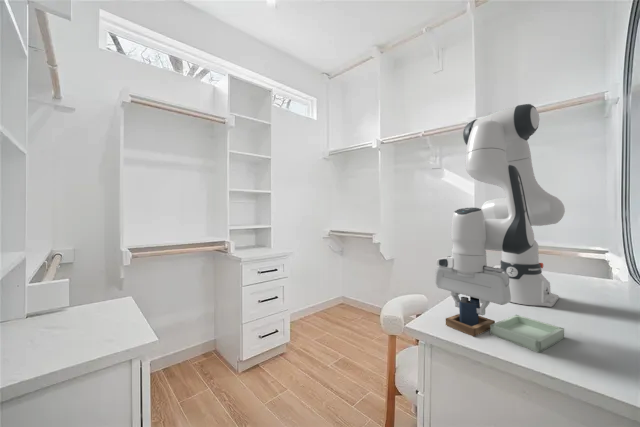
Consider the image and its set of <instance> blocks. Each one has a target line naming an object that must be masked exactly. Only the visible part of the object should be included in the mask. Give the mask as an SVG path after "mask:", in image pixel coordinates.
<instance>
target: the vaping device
mask: <svg viewBox="0 0 640 427" xmlns="http://www.w3.org/2000/svg"><path fill="white" fill-rule="evenodd" d="M478 307H481V303H480V299H477V298H474V297H470V296H469V297H468V296H461V297H460V302H459V308H458V309H459V314H460V322H461V323H464V324H466V325H469V326H474V325H477V324H479V316H480V315H479V314H477V308H478Z"/></svg>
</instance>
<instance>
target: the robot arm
mask: <svg viewBox="0 0 640 427" xmlns="http://www.w3.org/2000/svg"><path fill="white" fill-rule="evenodd" d="M539 124H540V114H539V111H538V110H537V108H536V106H534V105H532V104H531V103H524V104H518V105H517V106H513V107H508V108H505V109H500V110H498V111H495V112H493V113H491V114H490V113H489V114H488V115H486V116H483V117H480V118H478V119H474V120H471V121H470V122H468V123H467V124H466V125H465V127H464V128H463V133H462V138H463V141H464V143H465V145H466V149H465V150H466V151H465V162H464V163H465V171H466V172H467V174H468V175H469V177H471V178H473V179H474V180H476V181H478V182H480V183H485V184H489V185H494V186H497V187H499V188H502V190H503V192H504V195H505V197H497V198H493V199H489V200H486V201H484V202H483V204H482V205H481V207H464V208H458V209H456V210H454V211H453V213H452V217H451V226H450V238H451V242H452V248H451V255H449V256H445V257H441V258H437V259H436V260H435V261H436V266H437V267H436V269H435V274H434V276H435V278H434V279H435V280H434V283H435V286H436V287H437V288H438V289H441V290H445V291H448V292H451V293H450V294H451V297H452V298H453V300H454V306H455V308H458V309H459V302H460V300H461V297H460V296H459V295H463V296H465V297H469V298H470V297H474V298H477V299H480V307H478V308H477V314H479V316H482V317H484V316H485V315H486V309H487V308H488V306H489V305H490V303H492V304H497V305H498V306H499V305H500V306H505V305H507V304H509V303H513V304H520V305H524V306H538V307H539V306H540V307H550V308H552V307H554V305H555V304H556V303H557V301H558V300H559V298H560V297H559V295H558V294H556V293H552V291H551V283H550V281H549V280H548V279H547V278H546V277H545V276H544V275H543V274H542V273H543V271H542V269H543V268H544V263H543V262H539V261H540V259H539V258H540V256H539V244H538V242H537V240H535V233H534V230H533V227H532V226H534V227H536V226H537V227H538V226H539V227H541V226H548V225H556V224H558V223H559V222H560V221H561V220H562V219H563V218H564V216H565V212H566V211H565V209H566V208H565V205H564V203H563V202H562V200H560V199H559V198H558V197H557V196H555V195H552V194H550V193H549V192H548V191H546V190H545V189H544V188H543V187H541V185H540V184H539V183H538V181H537V179H536V176H535V172H534V169H533V168H534V167H533V163H532V153H531V149H530V145H529V141H528V140H529V139H530V137H531V136H532V135H534V134H535V133H536V132H537V129H538V128H539ZM487 251H491V252H492V251H495V252H501V260H500V263H499V267H494V266H488V265H487V264H488V262H487Z"/></svg>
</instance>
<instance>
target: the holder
mask: <svg viewBox="0 0 640 427" xmlns="http://www.w3.org/2000/svg"><path fill="white" fill-rule="evenodd" d="M495 321H496V320H493V319H491V318H487V317H485V316H482V315H479V324H477V325H474V326H469V325H466V324H464V323H461V322H460V313H457V314H455V315H451V316H449V317H445V326H446V325H447V326H446V327H449V328H452V329H453V330H457V331H459V332H461V333H464V334H467V335H469V336H470V337H471V336H472V337H476V336H478V335H481V334H485V332H488V331H490V325H492V324H494V323H496V322H495Z"/></svg>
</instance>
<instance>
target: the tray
mask: <svg viewBox="0 0 640 427" xmlns="http://www.w3.org/2000/svg"><path fill="white" fill-rule="evenodd" d="M489 331H490V335H492V336H494V337H497V338H499V339H502V340H505V341H508V342H510V343H513V344H515V345H518V346H521V347H524V348H526V349H527V350H532V351H534V352H537V353H538V354H539V353H542V352H543V351H546V350H547V349H548V348H550V347H551V346H552V347H553V346H554V345H555V344H557V343H559V342H560V341H562V340H565V327H560V326H556V325H555V324H554V325H553V324H549V323H545V322H543V321H540V320H536V319H532V318H529V317H525V316H522V315H519V314H515V315H512V316H510V317H509V316H508V317H507V318H504V319H502V320H499V321H497V322H495V323H494V324H492V325H490V330H489Z"/></svg>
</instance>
